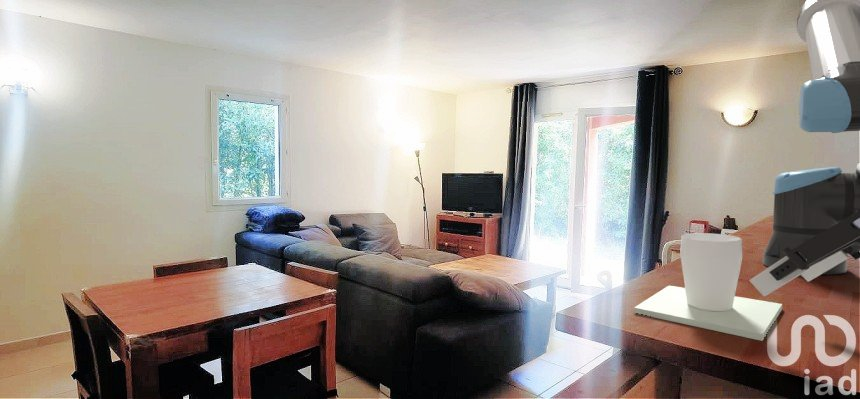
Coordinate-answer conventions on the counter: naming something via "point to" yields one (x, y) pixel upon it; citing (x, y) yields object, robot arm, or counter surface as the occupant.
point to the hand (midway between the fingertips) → (780, 280)
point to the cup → (710, 269)
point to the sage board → (713, 313)
